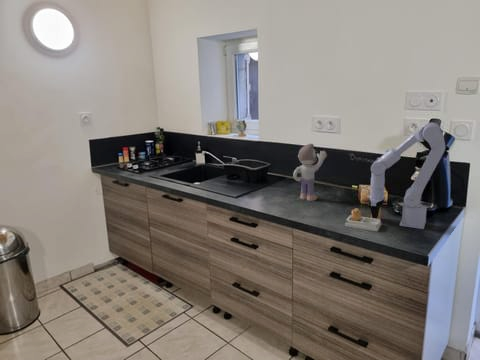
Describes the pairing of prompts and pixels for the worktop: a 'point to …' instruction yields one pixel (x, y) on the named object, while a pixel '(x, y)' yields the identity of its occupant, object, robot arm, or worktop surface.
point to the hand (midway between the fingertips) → (375, 216)
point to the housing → (362, 221)
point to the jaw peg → (378, 214)
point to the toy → (308, 170)
